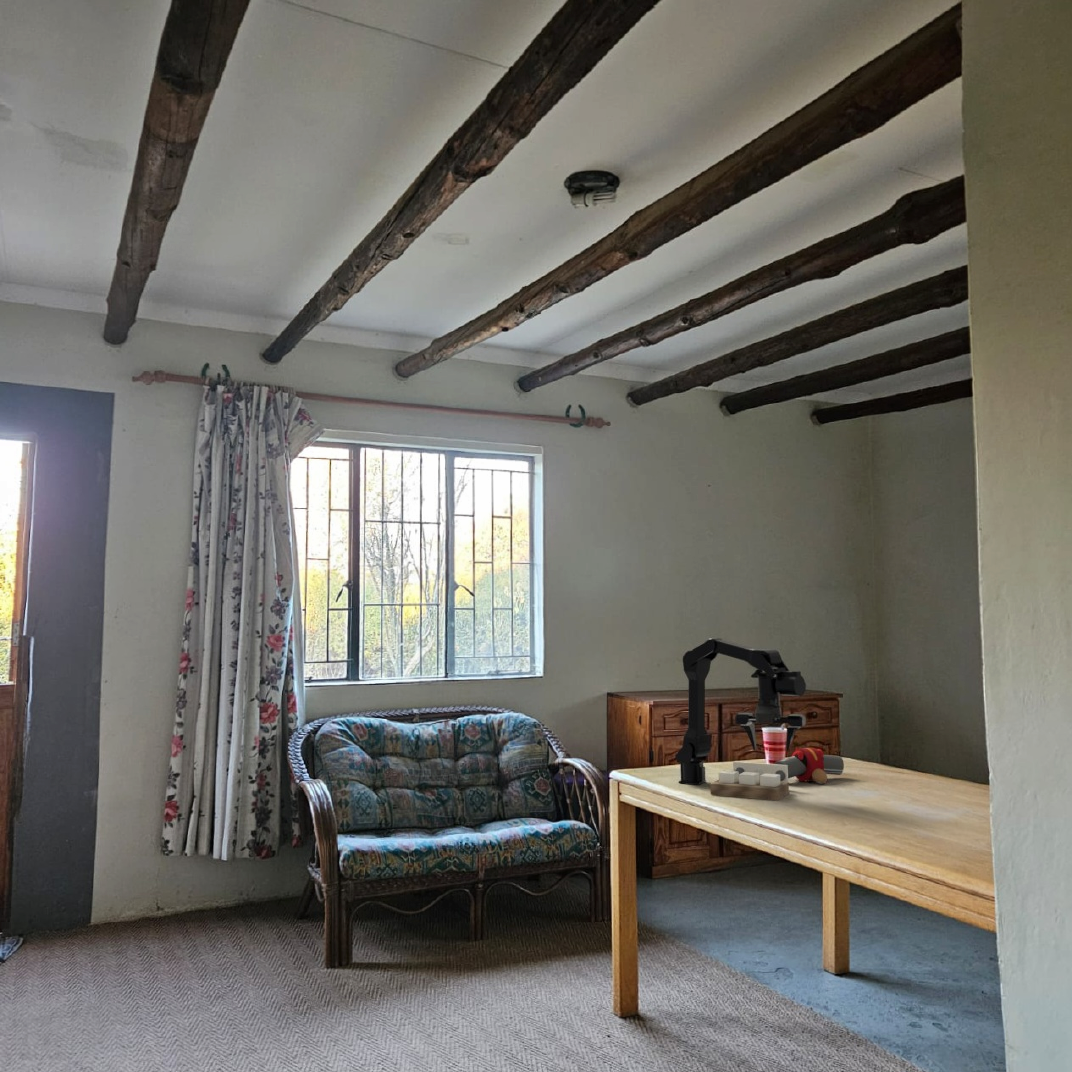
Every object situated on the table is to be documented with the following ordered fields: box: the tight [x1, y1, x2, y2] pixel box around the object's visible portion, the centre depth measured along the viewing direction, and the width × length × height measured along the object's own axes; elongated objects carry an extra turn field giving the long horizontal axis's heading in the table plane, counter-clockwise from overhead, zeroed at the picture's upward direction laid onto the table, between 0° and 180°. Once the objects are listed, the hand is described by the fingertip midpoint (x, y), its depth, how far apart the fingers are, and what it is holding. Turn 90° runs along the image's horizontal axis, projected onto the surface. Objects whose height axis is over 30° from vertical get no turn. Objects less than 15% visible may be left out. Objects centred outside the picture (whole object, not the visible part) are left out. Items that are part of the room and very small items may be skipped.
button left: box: [718, 770, 739, 784], centre depth 262 cm, size 4×4×4 cm
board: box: [709, 779, 790, 801], centre depth 258 cm, size 19×11×3 cm, turn 58°
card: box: [732, 761, 789, 783], centre depth 267 cm, size 16×1×7 cm, turn 59°
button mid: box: [739, 772, 760, 785], centre depth 258 cm, size 4×4×4 cm
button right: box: [760, 774, 781, 787], centre depth 255 cm, size 4×4×4 cm
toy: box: [774, 747, 845, 785], centre depth 277 cm, size 23×10×15 cm
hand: (771, 750), depth 257 cm, fingers open, 9 cm apart
